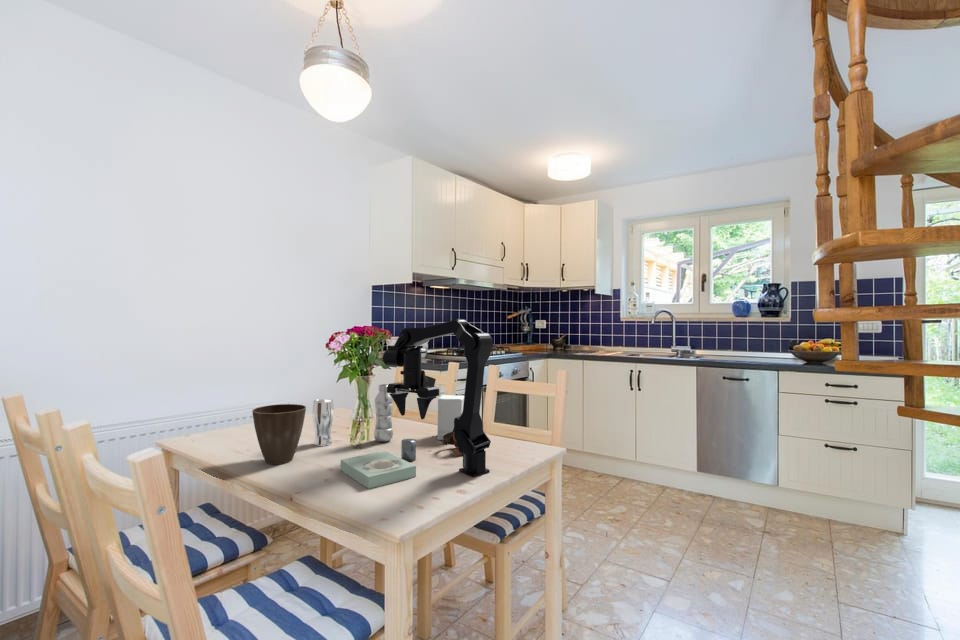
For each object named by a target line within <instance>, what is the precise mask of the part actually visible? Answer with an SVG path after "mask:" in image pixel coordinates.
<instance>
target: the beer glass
mask: <svg viewBox="0 0 960 640" xmlns="http://www.w3.org/2000/svg"><path fill="white" fill-rule="evenodd" d="M334 409H335V408H334V400H333V399H330V398H323V399H315V400H313V402H312V413H311V414H312V423H313V424H312V425H313V429H314V439H313V446H315V447H326V446H325V445H327V446H330V445H329V444H331V445H332V444H333V439H332V429H333V428H332V427H333V421H334V416H335V415H334V414H335V411H334Z"/></svg>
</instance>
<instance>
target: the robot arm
mask: <svg viewBox="0 0 960 640" xmlns="http://www.w3.org/2000/svg"><path fill="white" fill-rule="evenodd" d="M450 335H454V336H455V337H456V339H457V341H458V342H459V343H460V344H462V345H463V353H464V356H465V359H466V363H467V368H466V377H465V387H464V395H463V396H464V404H463V412H462V414H461V416H459V417H456V418H455V419H454V429H453V431H452V432H454V438H455V439H456V441H457V445H458V449H459V452H462V453H463V455H462V467H461V468H458V471H459V472H461V473H464V474H466V475H468V476H470V477H476V476H480V475H483V474H487V473H490V472H491V470H490V469H488V468H486V467H487V466H486V464H487V463H486V462H487V461H486V457H487V456H486V454H487V453H486V449H489V448H490V446H491V439H490V438H489V436H488V435H487V434H486V433H485V431H484V422H483V419H482V416H481V415H480V414H481V403H482V401H481V399H482V394H483V393H482V392H483V385H484V376H485V375H484V374H485V366H486V364H487V361H488V360H489V358H490V356H491V355H492V350H493V346H494V340H493V337H492V336H491V335H490V334H489V333H488V332H483V330H481V329H480V328H477V327H476V326H474V325H472V324H471V323H470V322H468V321H467V320H466V319H463V318H454V319H452V320H449V321H444V322H441V323H437V324H433V325H429V326H425V327H424V326H423V327H404V328H402V329H401V330H400V333H399V335H398V338H397V339H396V341H395V343H394V344H393V345H387V348H386V350H385V351H384V353H383V355H382V361H383V364H384V366H387V367H398V368H402V367H403V368H402V370H400V372H399V373H400V375H403V376H402V377H403V380H402V381H401V382H400V381H399V382H393V383H388V386H387V393H390V396H391V397H392V398H393V403H394V404H395V405H396V407H397V409H398V412H399V414H400V415H401V416H403V417H404V416H405V413H406V401H407V400H406V399H407V397H408V395H409V393H411V394H416V395H417V397H416V402H417V407H418V413H419V416H420V419H421V420H425V418H426V415H427V411H428V409H429V406H430V404H431V402H432V401H433V400H434V399H436V398H437V397H440V388H439V387H438V386H435V384H436V381H437V379H436V378H434V377H431V376H428V375H426V372H425V370H422V354H427V353H428V351H427V350H426V348H424V347H423V345H424V344H426V343H428V342H429V341H430V340H433V339H436V338H437V339H438V338H441V337H447V336H450ZM473 443H474V444H473Z"/></svg>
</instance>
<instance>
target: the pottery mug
mask: <svg viewBox="0 0 960 640" xmlns="http://www.w3.org/2000/svg"><path fill="white" fill-rule="evenodd" d="M443 439H444V440H442V442H441V443H442V445H443V446H444V445H445V446H447V445H451V446H454V447H455V449H453V454H454V456H455V457H459V456H463V453H462V452H459V449H458V445H457V441H456V439H455V438H454V432H450V433H447V434H445V435H444V436H443ZM473 444H474V443H473Z"/></svg>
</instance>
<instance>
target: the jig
mask: <svg viewBox="0 0 960 640" xmlns="http://www.w3.org/2000/svg"><path fill="white" fill-rule="evenodd" d="M340 471H341V472H342V471H343V472H342V473H344V474H345V473H346V474H345V475H347V474H348V475H349V476H348V475H347V476H348V477H350V478H351V477H352V479H353V480H355V481H356V480H357V481H356V482H357V483H360V485H362V484H363V485H362V486H363V487H365V488H367V489H368V490H369V489H374V488H377V487H381V486H385V485H388V484H393V483H397V482H400V481H404V480H408V479H412V478H416V477H417V465H415V464H413V463H412V462H407V461H405V460H403V459H401V457H398V456H397V455H394V454H392V453H390V452H388V451H386V450H382V451H378V452H374V453H373V452H372V453H368V454H363V455H357V456H351V457H348V458H343V459H340Z"/></svg>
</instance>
